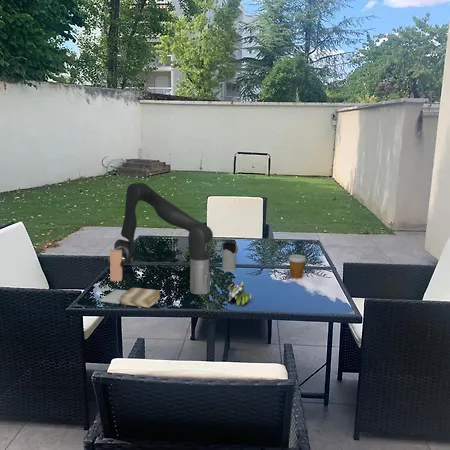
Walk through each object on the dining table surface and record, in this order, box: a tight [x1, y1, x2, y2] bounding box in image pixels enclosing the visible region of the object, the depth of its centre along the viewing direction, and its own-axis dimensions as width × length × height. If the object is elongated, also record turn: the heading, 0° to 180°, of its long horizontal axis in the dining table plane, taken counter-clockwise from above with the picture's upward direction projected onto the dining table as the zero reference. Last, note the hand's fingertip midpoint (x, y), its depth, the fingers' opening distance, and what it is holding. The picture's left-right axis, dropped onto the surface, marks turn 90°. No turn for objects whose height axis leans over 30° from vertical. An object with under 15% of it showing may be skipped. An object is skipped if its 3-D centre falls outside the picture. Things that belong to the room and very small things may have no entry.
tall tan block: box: [109, 249, 123, 282], centre depth 213 cm, size 5×4×14 cm
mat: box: [98, 288, 128, 305], centre depth 216 cm, size 10×16×1 cm, turn 165°
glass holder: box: [221, 242, 238, 272], centre depth 266 cm, size 9×14×15 cm, turn 152°
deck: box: [120, 287, 161, 308], centre depth 210 cm, size 14×12×4 cm
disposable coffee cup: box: [288, 254, 307, 279], centre depth 251 cm, size 10×10×12 cm
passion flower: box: [226, 281, 252, 307], centre depth 212 cm, size 11×11×12 cm
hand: (115, 264), depth 210 cm, fingers closed on tall tan block, 5 cm apart
